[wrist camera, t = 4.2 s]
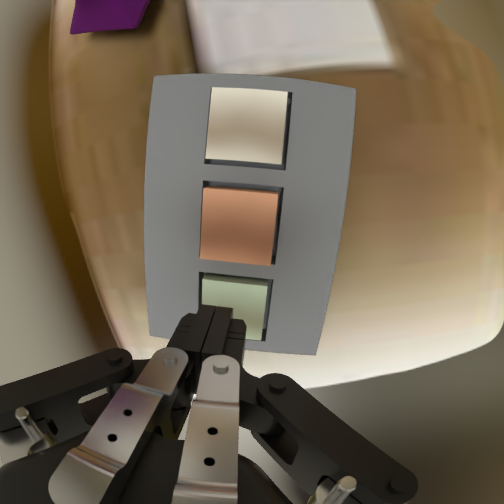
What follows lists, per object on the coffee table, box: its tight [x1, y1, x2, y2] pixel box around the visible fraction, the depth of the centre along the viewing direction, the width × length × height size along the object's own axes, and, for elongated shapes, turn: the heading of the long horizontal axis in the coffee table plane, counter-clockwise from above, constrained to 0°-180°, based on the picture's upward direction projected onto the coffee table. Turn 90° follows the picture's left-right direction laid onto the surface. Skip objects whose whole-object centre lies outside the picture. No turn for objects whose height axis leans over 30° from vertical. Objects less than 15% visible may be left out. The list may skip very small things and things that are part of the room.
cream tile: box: [205, 87, 288, 164], centre depth 19 cm, size 5×5×2 cm
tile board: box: [144, 74, 356, 355], centre depth 23 cm, size 22×15×3 cm
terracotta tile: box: [200, 186, 278, 266], centre depth 21 cm, size 5×5×2 cm
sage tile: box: [202, 272, 268, 341], centre depth 24 cm, size 5×5×2 cm
